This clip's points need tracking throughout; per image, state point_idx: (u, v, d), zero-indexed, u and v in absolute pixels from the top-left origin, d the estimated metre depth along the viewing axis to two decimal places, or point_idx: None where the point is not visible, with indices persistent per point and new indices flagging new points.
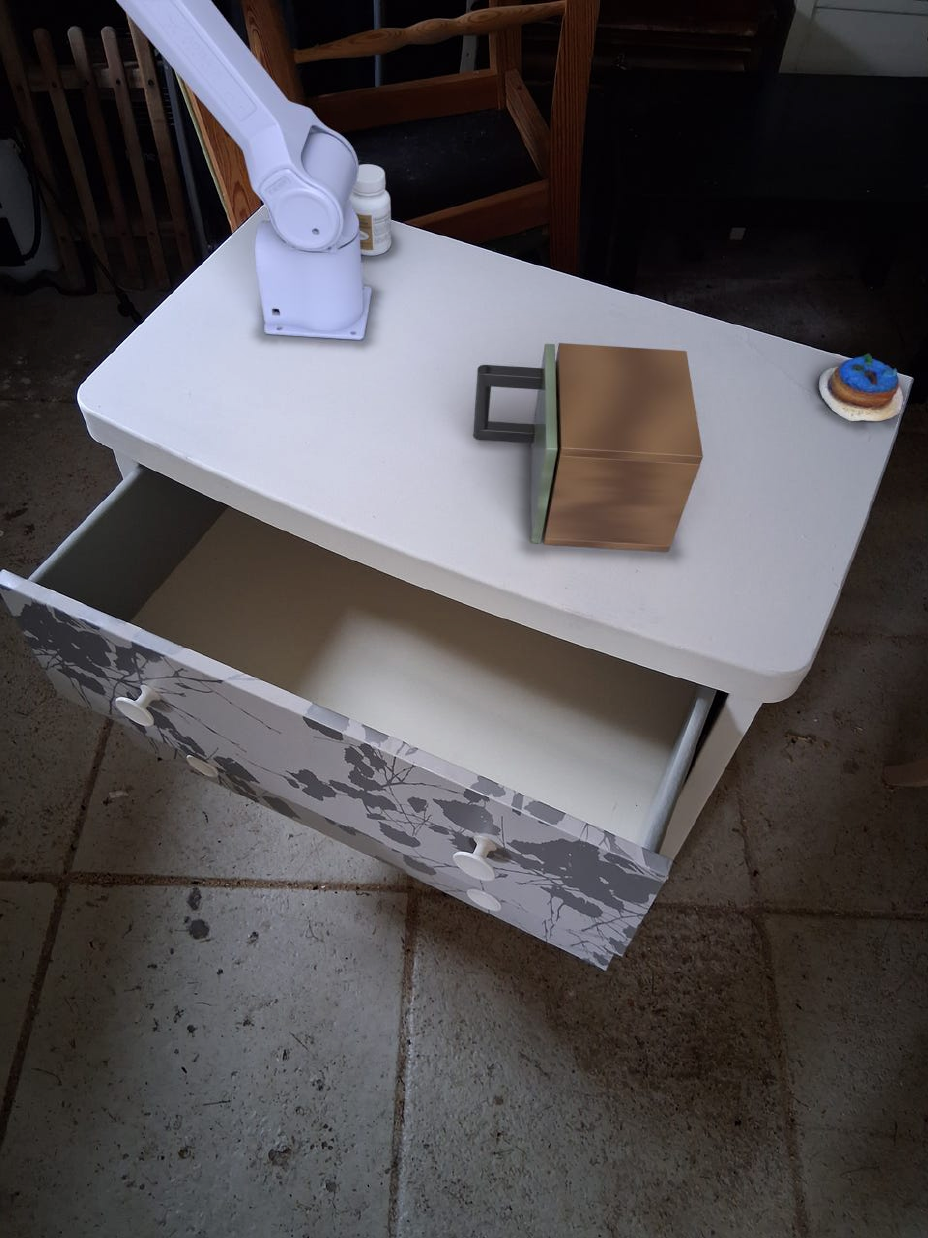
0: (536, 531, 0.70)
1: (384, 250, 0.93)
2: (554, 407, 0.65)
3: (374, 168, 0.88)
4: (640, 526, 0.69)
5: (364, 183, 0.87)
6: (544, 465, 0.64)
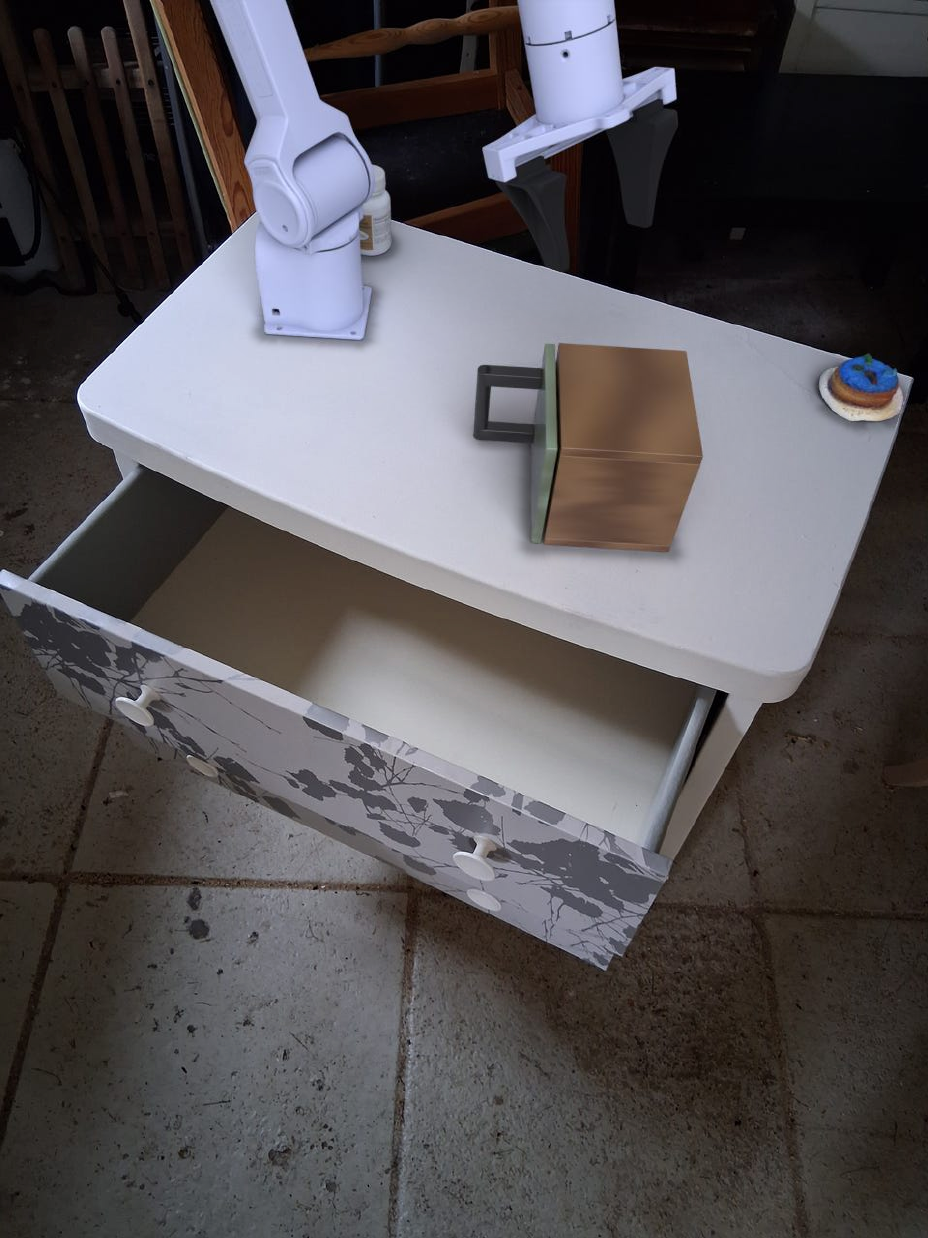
0: (536, 531, 0.70)
1: (384, 250, 0.93)
2: (554, 407, 0.65)
3: (374, 168, 0.88)
4: (640, 526, 0.69)
5: None
6: (544, 465, 0.64)
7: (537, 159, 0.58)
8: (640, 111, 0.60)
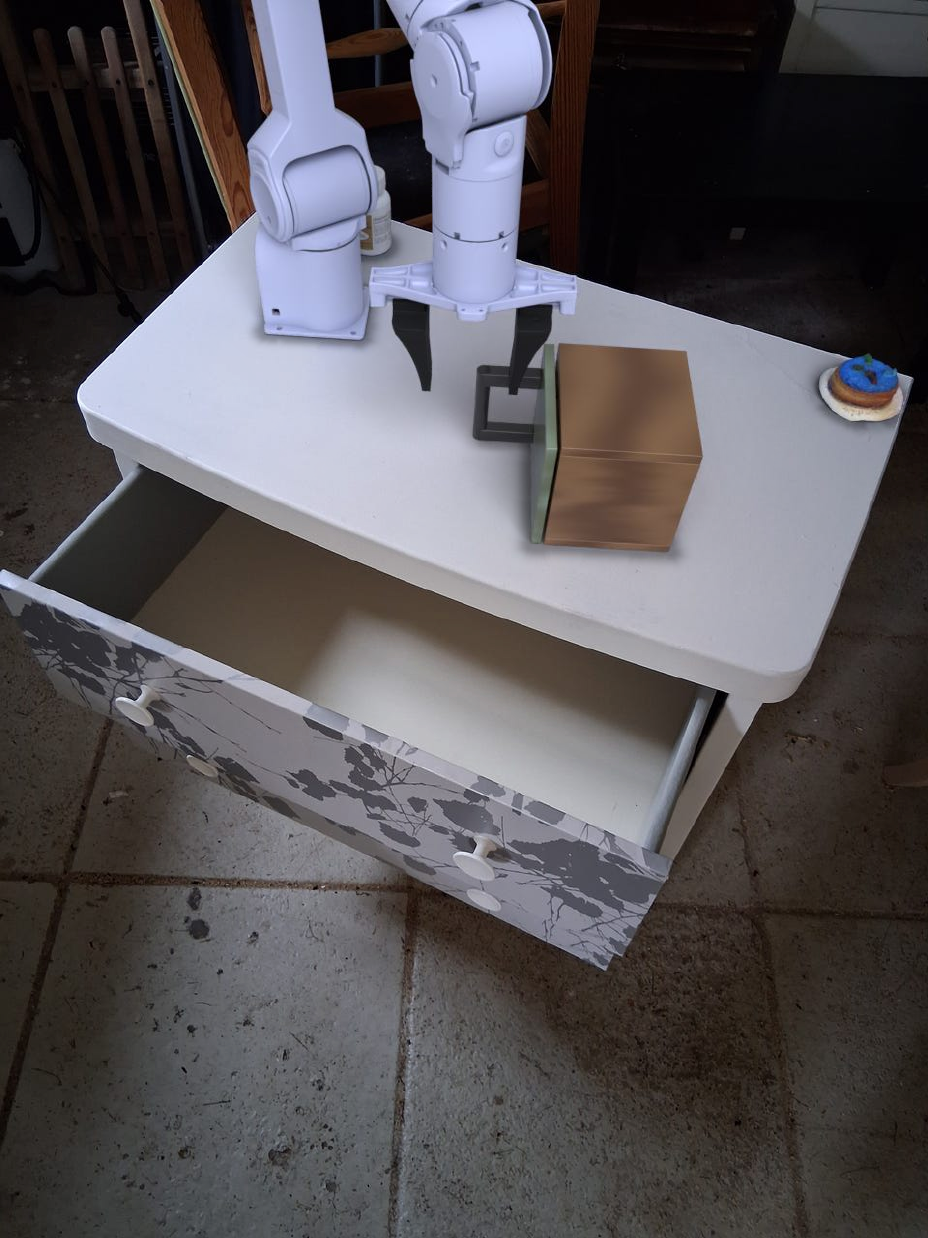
0: (536, 531, 0.70)
1: (384, 250, 0.93)
2: (554, 407, 0.65)
3: None
4: (640, 526, 0.69)
5: None
6: (544, 465, 0.64)
7: (410, 302, 0.63)
8: (524, 309, 0.63)
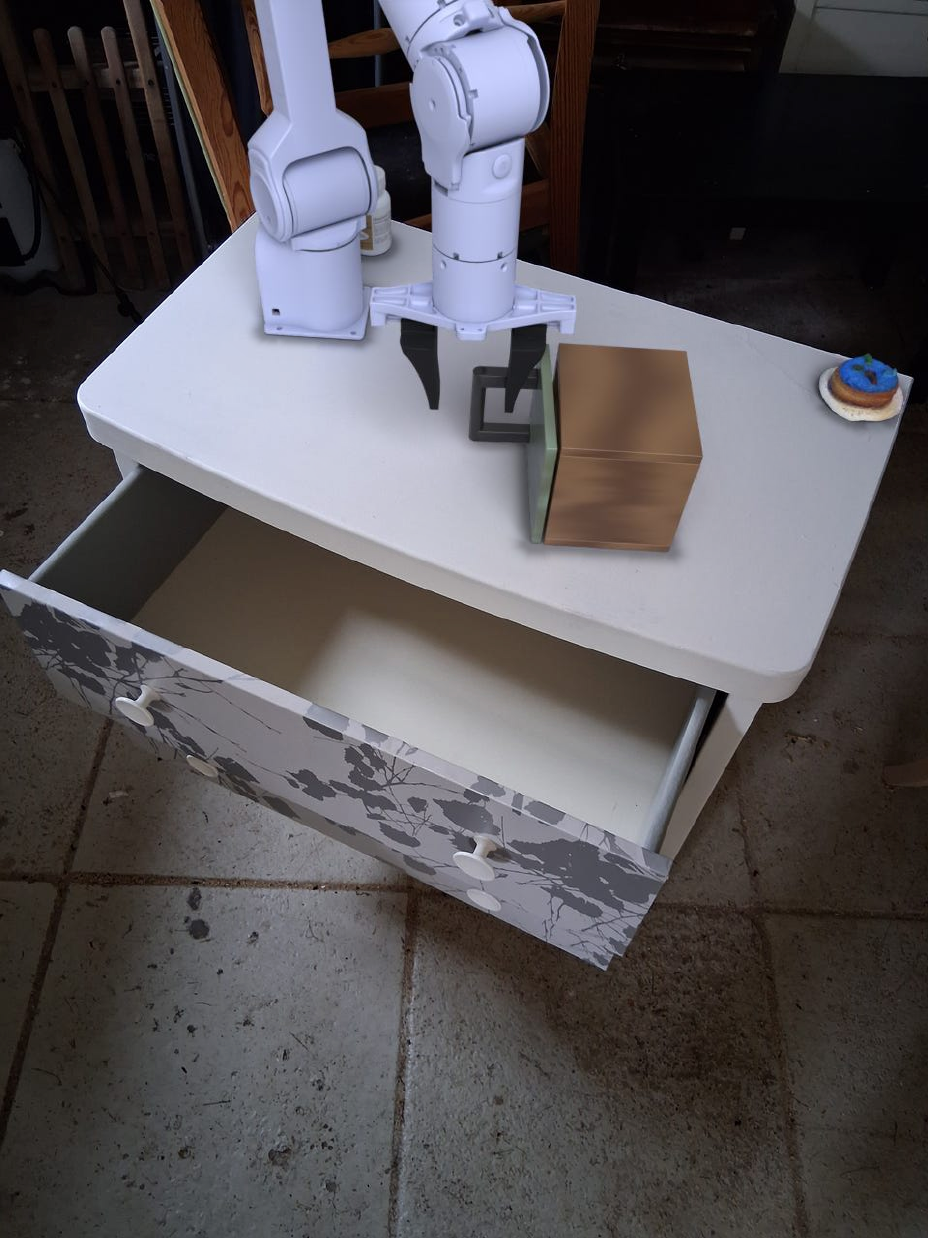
0: (536, 531, 0.70)
1: (384, 250, 0.93)
2: (552, 407, 0.65)
3: None
4: (640, 526, 0.69)
5: None
6: (544, 465, 0.64)
7: (410, 322, 0.63)
8: (519, 328, 0.63)
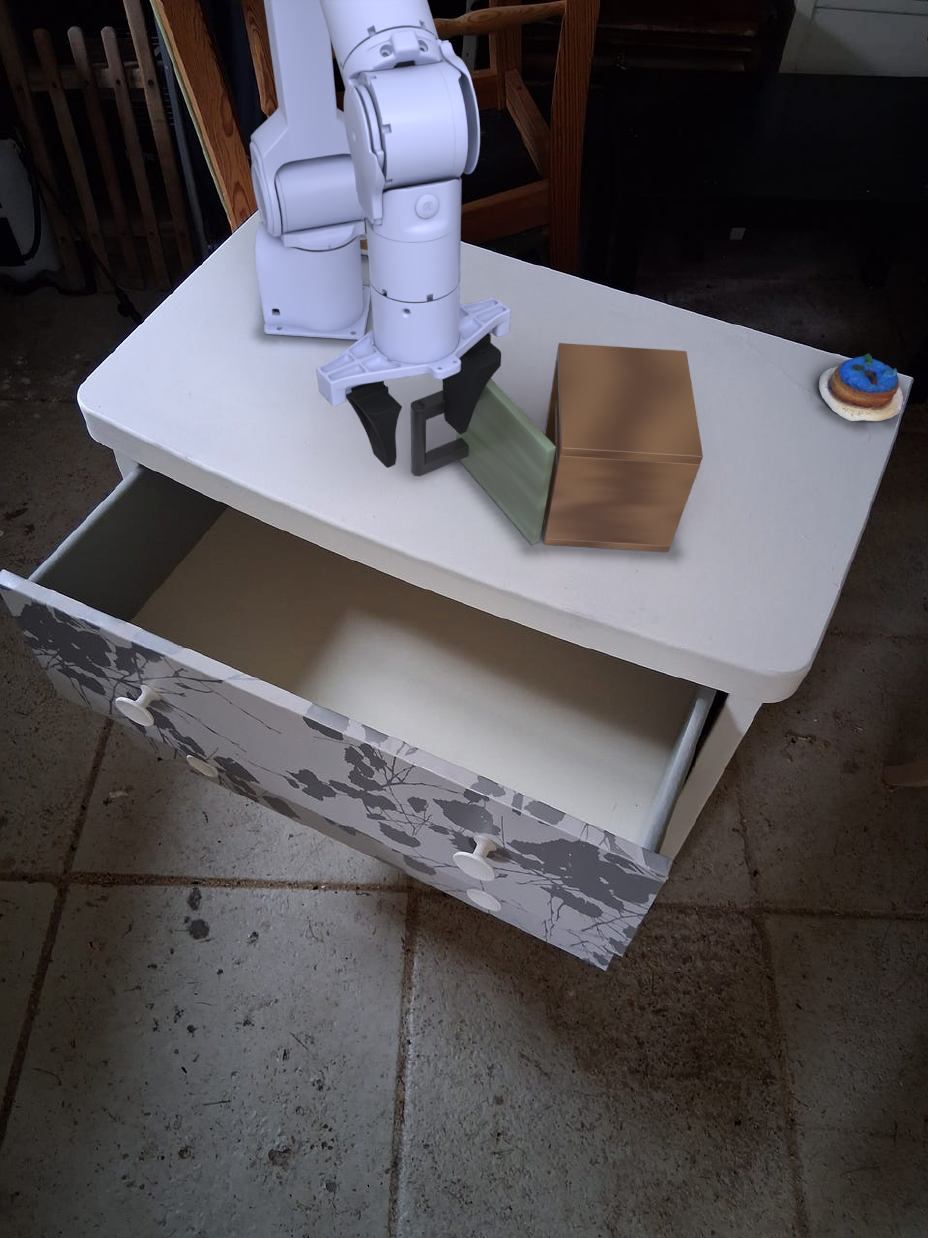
0: (536, 531, 0.70)
1: None
2: (520, 411, 0.65)
3: None
4: (640, 526, 0.69)
5: None
6: (545, 467, 0.64)
7: (368, 385, 0.59)
8: None
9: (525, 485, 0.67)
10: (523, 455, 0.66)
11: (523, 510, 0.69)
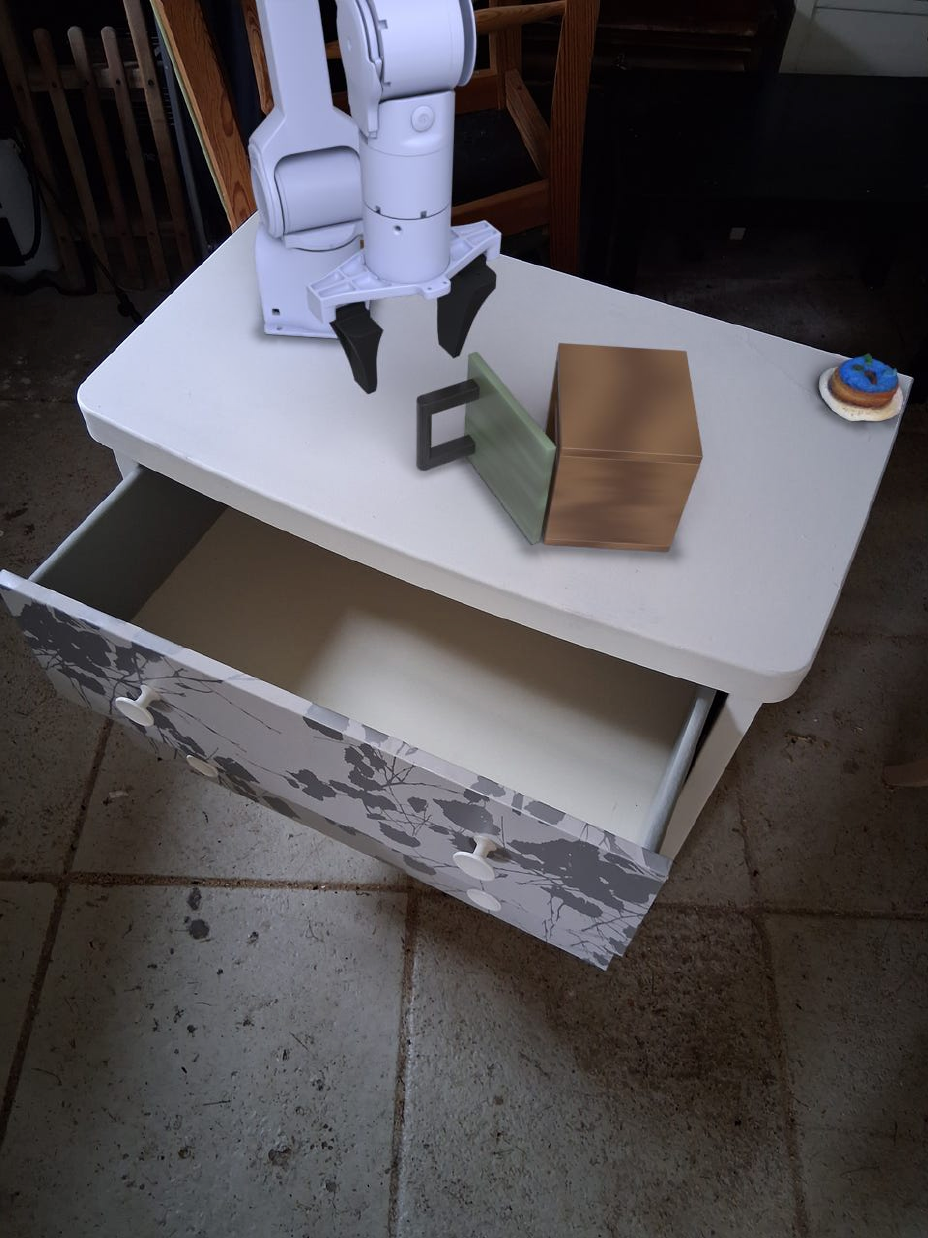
0: (536, 531, 0.70)
1: None
2: (523, 410, 0.65)
3: None
4: (640, 526, 0.69)
5: None
6: (545, 467, 0.64)
7: (358, 305, 0.59)
8: (464, 267, 0.62)
9: (526, 484, 0.67)
10: (525, 454, 0.66)
11: (524, 509, 0.69)
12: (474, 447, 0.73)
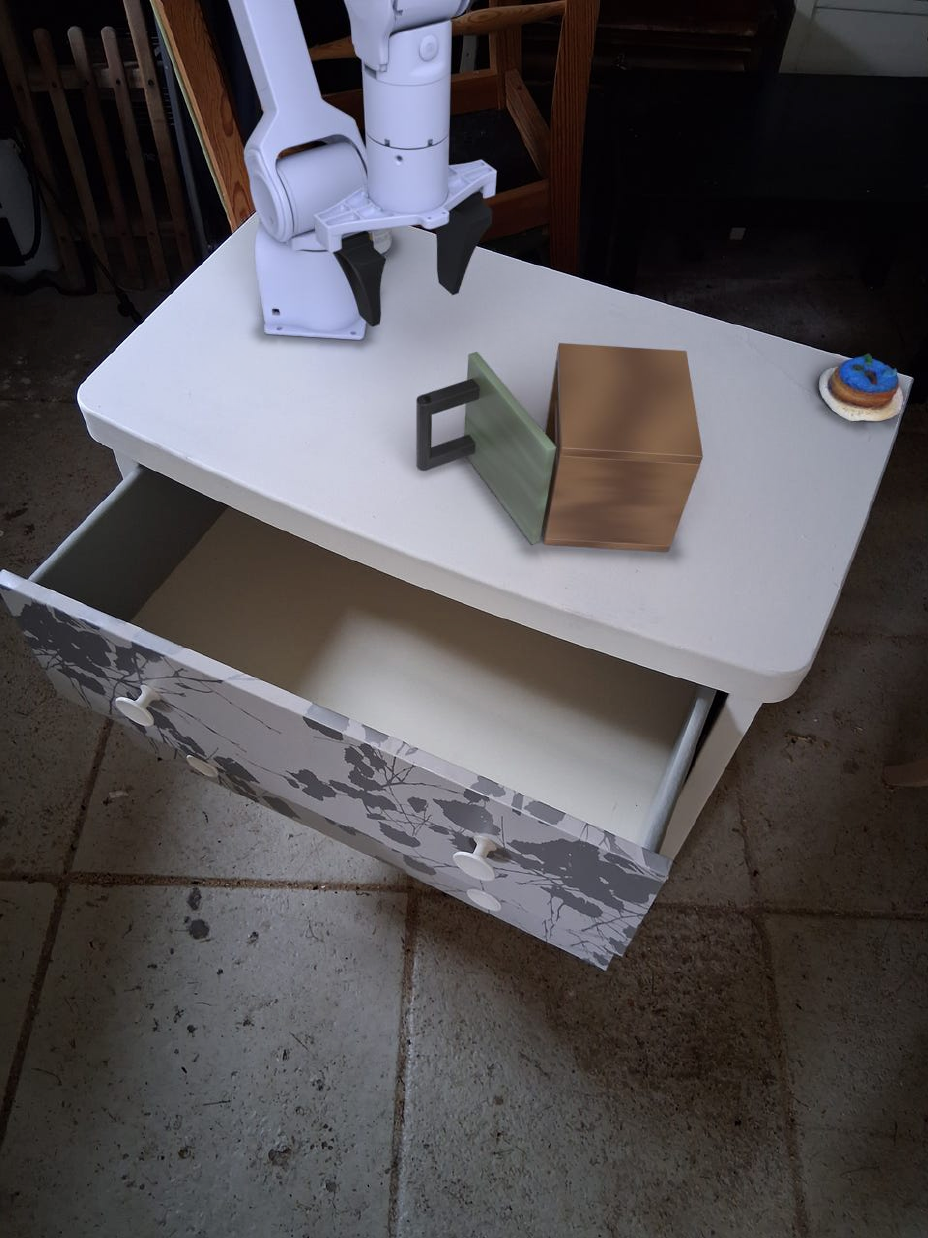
0: (536, 531, 0.70)
1: (384, 250, 0.93)
2: (523, 410, 0.65)
3: None
4: (640, 526, 0.69)
5: None
6: (545, 467, 0.64)
7: (362, 235, 0.63)
8: (461, 203, 0.66)
9: (526, 484, 0.67)
10: (525, 454, 0.66)
11: (524, 509, 0.69)
12: (474, 447, 0.73)
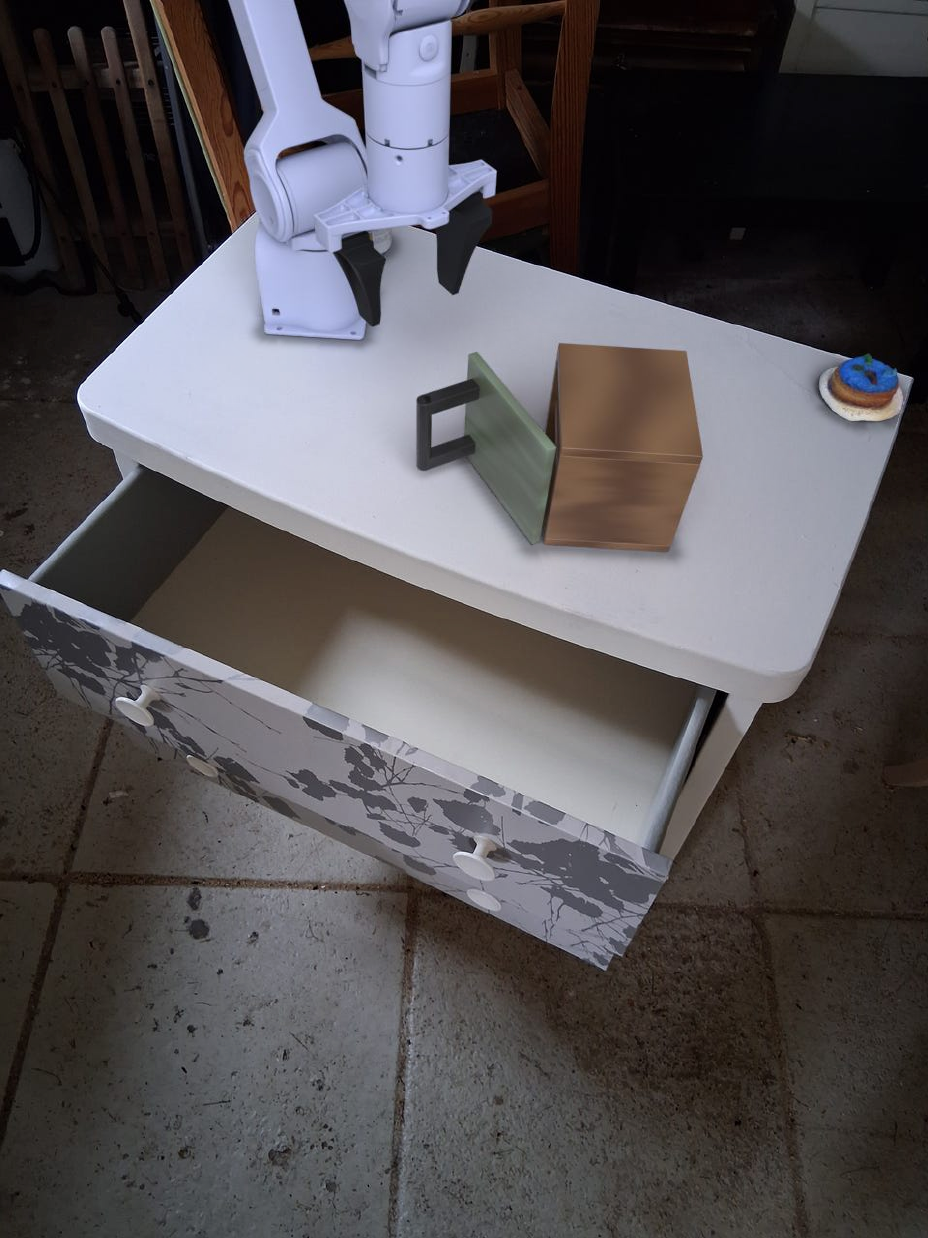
0: (536, 531, 0.70)
1: (384, 250, 0.93)
2: (523, 410, 0.65)
3: None
4: (640, 526, 0.69)
5: None
6: (545, 467, 0.64)
7: (362, 235, 0.63)
8: (461, 203, 0.66)
9: (526, 484, 0.67)
10: (525, 454, 0.66)
11: (524, 509, 0.69)
12: (474, 447, 0.73)
